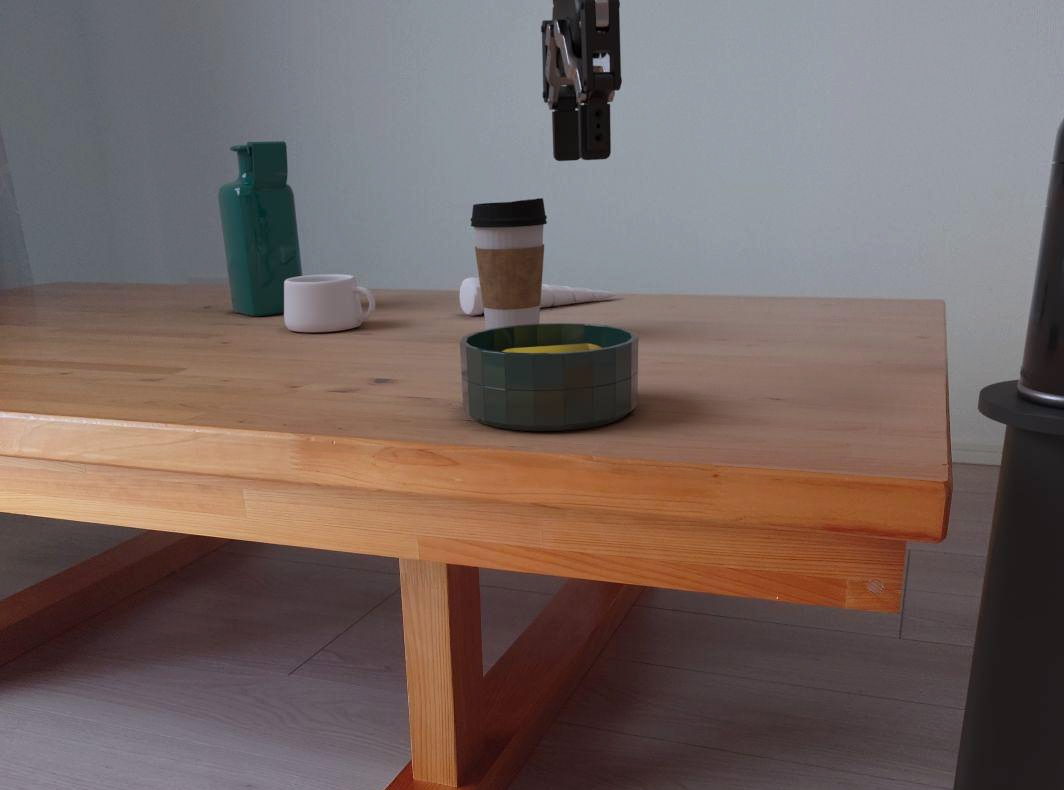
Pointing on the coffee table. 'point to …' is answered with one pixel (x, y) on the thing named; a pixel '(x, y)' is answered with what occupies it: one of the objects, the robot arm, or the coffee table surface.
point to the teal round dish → (549, 376)
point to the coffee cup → (510, 260)
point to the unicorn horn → (549, 296)
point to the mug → (324, 303)
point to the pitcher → (260, 229)
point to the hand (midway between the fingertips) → (580, 160)
